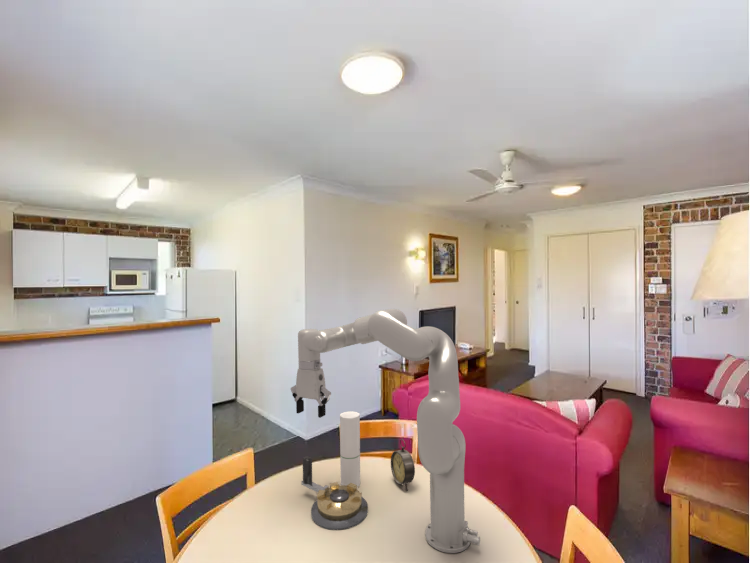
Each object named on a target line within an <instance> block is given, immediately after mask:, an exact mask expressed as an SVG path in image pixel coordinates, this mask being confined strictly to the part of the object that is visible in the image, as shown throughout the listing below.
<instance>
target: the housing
mask: <svg viewBox="0 0 750 563" xmlns="http://www.w3.org/2000/svg"><path fill="white" fill-rule="evenodd" d="M310 508H311V510H310V516H311V519H312V521H313V523H315V525H317V526H318V527H320V528H322V529H325V530H330V531H342V530H349V529H351V528H354V527H356V526H358V525H360V524H361V523H362V522H363V521H365V519H366V518H367V516H368V514H367V513H368V512H369V504H368V502H367V500H366V499H365V497H363V496H362V507H361V510H360V511H359V512H358V513H357V514H356V515H355V516H353V517H351V518H348V519H344V520H330V519H326V518H324V517H322V516H321V515H320V514H319V512H318V508H317V499H316V500H315V501H314V502H313V504H312V506H311V507H310Z"/></svg>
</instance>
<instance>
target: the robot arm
mask: <svg viewBox="0 0 750 563" xmlns="http://www.w3.org/2000/svg"><path fill="white" fill-rule="evenodd" d="M374 342H379V343H381V344H382V345H384V346H385V347H387V348H388V349H389V350H391V351H393V352H394V353H396V354H398V355H399V356H400V357H402V358H405V359H406V360H408V361H412V362H419V361H422V360H424V359H426V358H428V359H429V363H428V364H429V366H428V373H427V374H428V375H427V376H428V393H427V395H426V396H425V397H423V399H422V400H421V401H420V403H419V405H418V407H417V412H416V431H417V432H416V433H417V452H418V457H419V461H420V463H421V465H422V466H423V468H424V469H425V470H426V472H428V473H429V479H430V480H429V493H430V494H429V495H430V496H429V498H430V499H429V502H430V504H429V505H430V506H429V507H430V508H429V510H430V513H429V514H430V523H428V525H427V526H426V528H425V531H424V532H425V533H424V534H425V535H424V536H425V539H426V542H427V543H428V544H429V545H430V546H431V547H432V548H433V549H435V550H437V551H440V552H443V553H446V554H447V553H448V554H456V553H457V554H458V553H460V552H464V551H465V550H467V549H468V548H469V546H470V544H473V545H477V546H480V542H481V537H480V536H478V535H479V534H478V533H479V532H478V531H477V530H474V529H470V527H469V526H468V525H469V524H468V523H469V522H468V521H467V520H465V461H466V460H465V458H466V438H465V436H464V433H463V431H462V430H461V429H460V428H459V427H458V426H457V425H456V424H453V422H454V421H455V420H456V419H457V417H458V416H459V414H460V412H461V395H460V378H459V363H458V361H459V360H458V354H457V350H456V346H455V343H454V342H453V340H452V339H451V337H450V336H449V335H448V333H446V332H444V331H443V330H441V329H440V328H437V327H435V326H428V325H427V326H421V327H418V328H415V329H414V328H412V327H411V326H409V325H408V319H407V316H406V315H405V313H404V312H403V311H401V310H400V309H397V308H388V309H380V310H378V311H375V312H373V313H372V314H369V315H365V316H362V317H359V318H355V320H354V321H353V322H350V323H347V324H344V325H340V326H336V327H329V328H325V329H320V330H318V329H317V328H306V329H305V328H304V329H301V330H299V331H298V333H297V347H298V348H297V349H298V350H297V352H298V356H297V357H298V368H297V373H296V377H295V378H296V380H295V383H296V384H295V385H293V386H291V387H290V392H291V394H292V397H293V399H294V402H295V405H296V406H295V408H296V414H300V413H303V412H304V411H305V407H304V406H305V403H304V402H305V401H304V399H308V400H316V402H317V403H318V406H317V417H318V418H323V417H324V416H326V414H327V413H326V410H327V409H326V405H327V404H328V402H329V401H330V399H331V395H332V392H331V391H330V390H328V389H327V387H326V379H325V374H324V370H323V368H321V367H323V362H322V361H321V354H322V353H323V354H324V353H328V352H332V351H335V350H338V349H342V348H343V349H344V348H347V347H350V346H355V345H358V344H361V345H366V344H369V343H374Z"/></svg>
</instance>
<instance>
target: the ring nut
mask: <svg viewBox="0 0 750 563" xmlns="http://www.w3.org/2000/svg"><path fill="white" fill-rule="evenodd" d="M300 482H301V483H300V484H301V486H303V487H306V488H308V489H310V490H311V491H314V492H316V493H317V494H316V500H317V508H318V512H319V514H320V515H321V516H322V517H324V518H326V519H330V520H344V519H348V518H351V517H353V516H355V515H356V514H357V513H358V512H359V511H360V510H361V507H362V497H363V493H362V492H361V491H360V490H359V489H358V487H357V485H355V484H353V483H350V484H348V485H347V486H345V485H341V484H339V483H338V481H335V482H331V483H329V485H324V486H323V485H321V484H319V483H315V482H314V481H313V457H312V456H309V455H306V456H303V457H302V480H301V481H300Z"/></svg>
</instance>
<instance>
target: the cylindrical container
mask: <svg viewBox="0 0 750 563" xmlns="http://www.w3.org/2000/svg"><path fill="white" fill-rule="evenodd" d="M360 414H361V413H360V412H357V411H353V410H351V411H344V412H341V413H340V414H339V439H340V440H339V441H340V442H339V444H340V445H339V447H340V448H339V449H340V450H339V451H340V453H339V454H340V456H339V457H340V460H339V461H340V463H339V464H340V485H345V486H347V485H348V484H350V483H353V484H355V485H357V488H359V487H360V486H361V438H360V437H361V432H360V431H361V428H360V427H361V426H360V425H361V424H360V423H361V422H360V419H361V418H360ZM358 486H359V487H358Z"/></svg>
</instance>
